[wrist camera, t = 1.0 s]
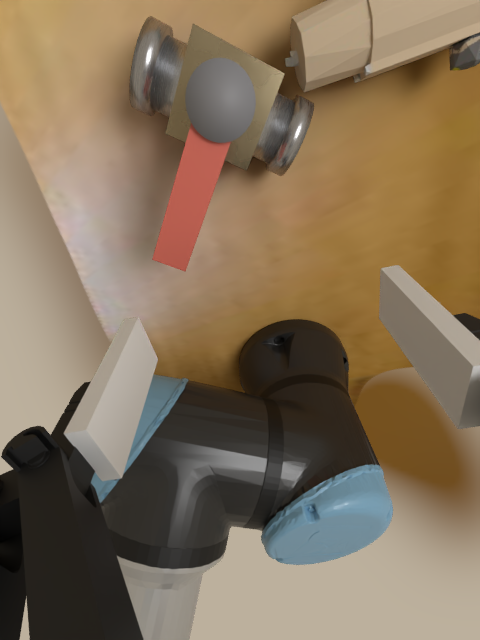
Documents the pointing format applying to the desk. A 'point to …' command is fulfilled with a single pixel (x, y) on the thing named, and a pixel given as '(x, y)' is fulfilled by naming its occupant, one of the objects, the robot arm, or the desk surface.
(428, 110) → the desk surface
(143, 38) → the valve body
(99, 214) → the desk surface
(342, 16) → the butterfly valve
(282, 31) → the desk surface
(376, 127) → the desk surface
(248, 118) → the lever
